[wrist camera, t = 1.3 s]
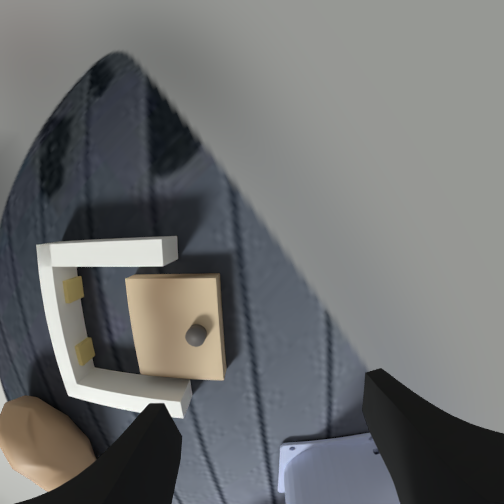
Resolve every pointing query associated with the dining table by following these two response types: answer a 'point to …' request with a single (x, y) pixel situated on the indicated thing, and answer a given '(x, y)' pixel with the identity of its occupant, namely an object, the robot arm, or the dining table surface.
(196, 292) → the door panel
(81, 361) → the cabinet frame
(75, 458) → the squash
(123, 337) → the dining table surface
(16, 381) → the dining table surface
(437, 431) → the robot arm
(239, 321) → the dining table surface
